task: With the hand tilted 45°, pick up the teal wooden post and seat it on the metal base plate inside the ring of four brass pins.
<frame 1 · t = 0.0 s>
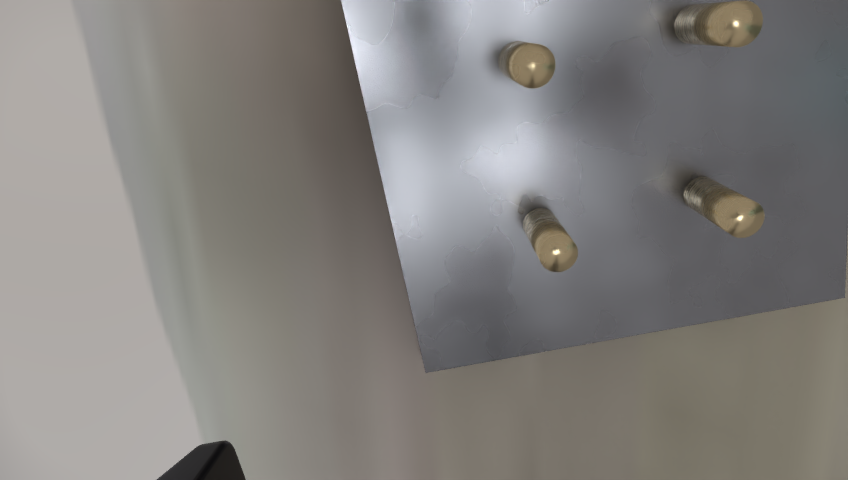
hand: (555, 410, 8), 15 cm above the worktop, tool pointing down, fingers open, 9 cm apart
metal base plate: (602, 124, 22), on the worktop
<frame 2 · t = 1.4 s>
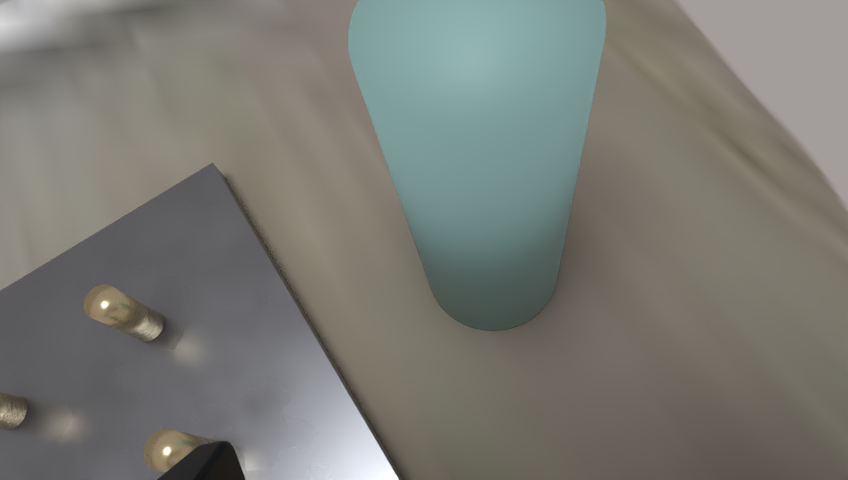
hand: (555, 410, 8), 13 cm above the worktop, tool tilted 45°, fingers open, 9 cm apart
metal base plate: (125, 438, 23), on the worktop
post: (492, 268, 24), on the worktop
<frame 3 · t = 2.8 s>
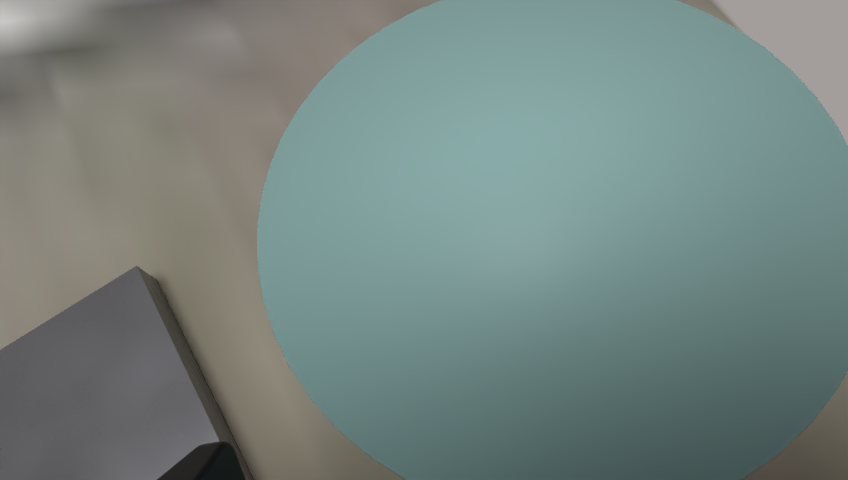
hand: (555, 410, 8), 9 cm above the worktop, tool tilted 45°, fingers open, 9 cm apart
post: (519, 424, 17), on the worktop
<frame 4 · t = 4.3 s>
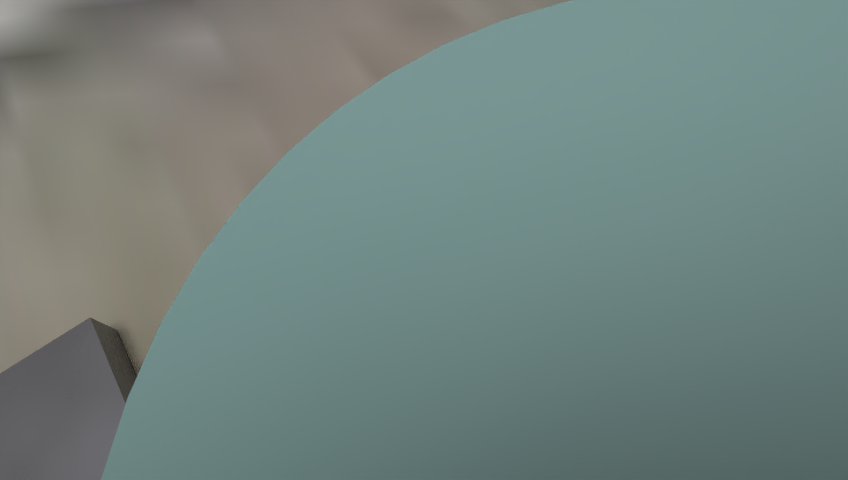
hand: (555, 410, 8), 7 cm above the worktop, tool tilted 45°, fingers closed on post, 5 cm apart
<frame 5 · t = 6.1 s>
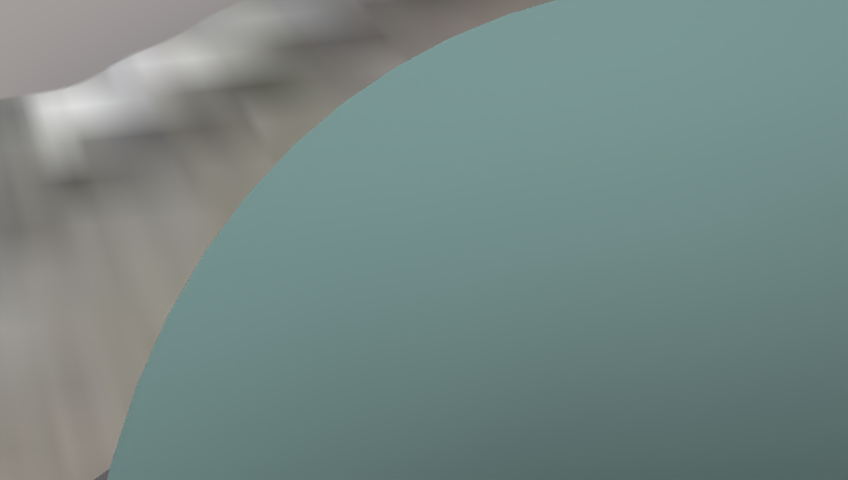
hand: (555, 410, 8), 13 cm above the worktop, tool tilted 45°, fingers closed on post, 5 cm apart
when the fingers open (9 cm above the worktop, at t = 8.0 s): post drops 1 cm, resting on metal base plate.
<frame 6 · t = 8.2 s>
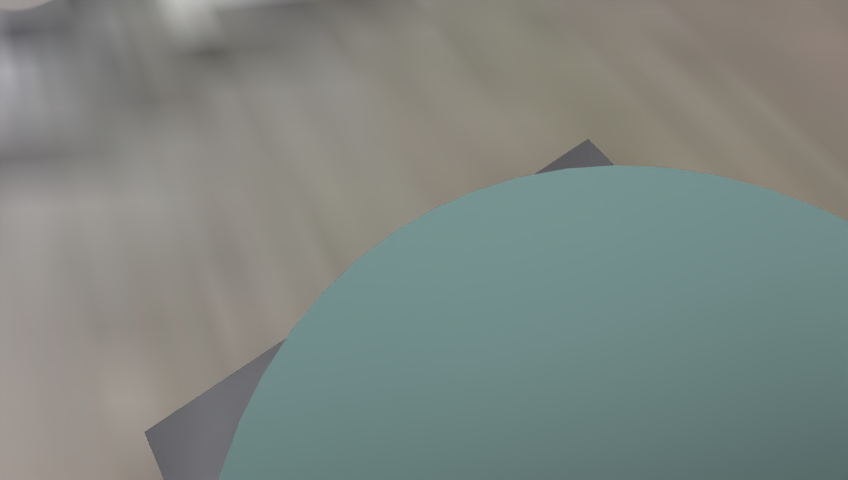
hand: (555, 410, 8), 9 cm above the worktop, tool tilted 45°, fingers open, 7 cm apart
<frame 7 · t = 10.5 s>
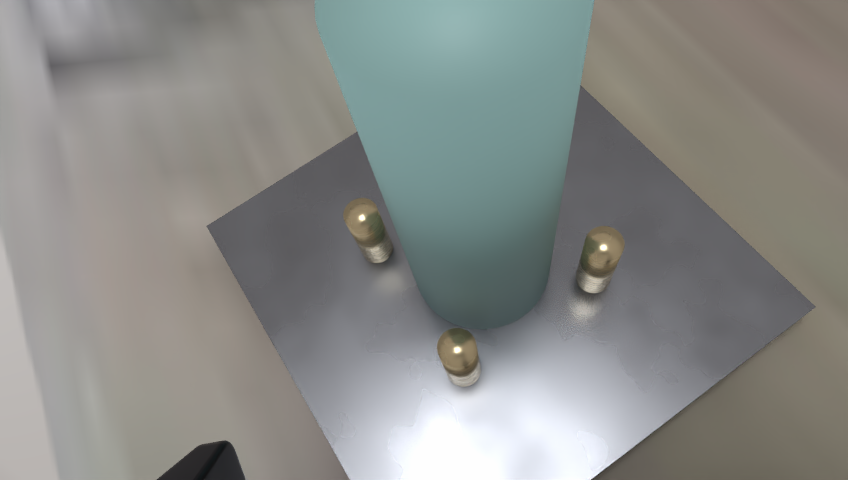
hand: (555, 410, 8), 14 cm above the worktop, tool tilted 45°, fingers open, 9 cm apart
metal base plate: (482, 274, 24), on the worktop
post: (481, 264, 22), point 1 cm above the worktop, touching metal base plate
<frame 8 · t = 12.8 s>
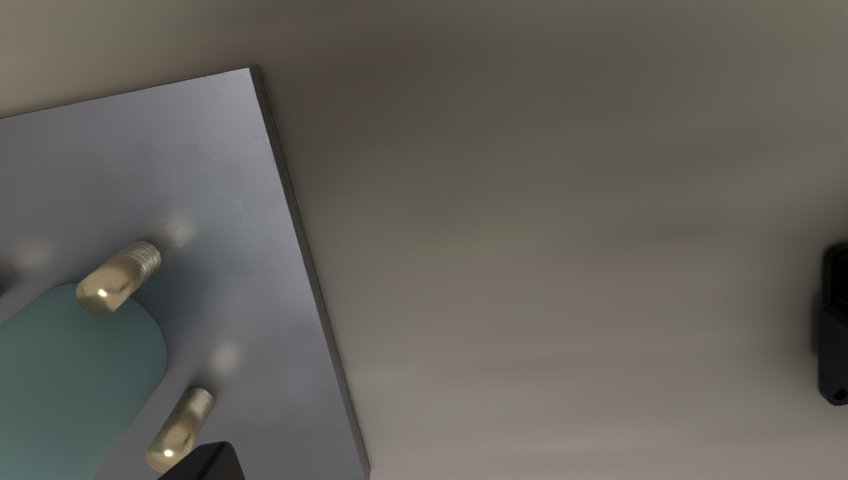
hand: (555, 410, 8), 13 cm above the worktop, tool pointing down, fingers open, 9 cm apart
metal base plate: (109, 331, 22), on the worktop
post: (94, 348, 21), point 1 cm above the worktop, touching metal base plate
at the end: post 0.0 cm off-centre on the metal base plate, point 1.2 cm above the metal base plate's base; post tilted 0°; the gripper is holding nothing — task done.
